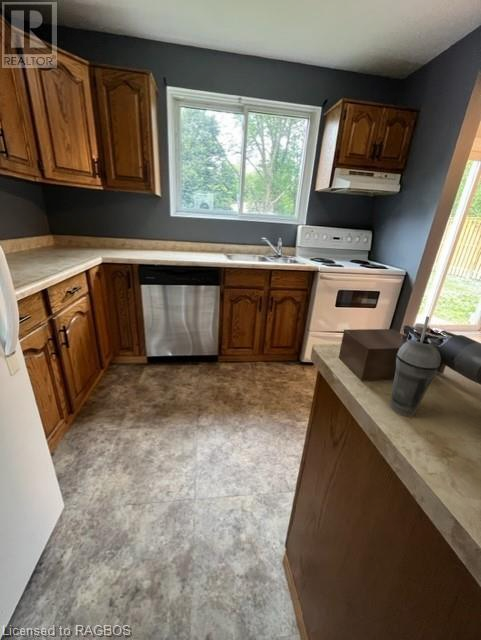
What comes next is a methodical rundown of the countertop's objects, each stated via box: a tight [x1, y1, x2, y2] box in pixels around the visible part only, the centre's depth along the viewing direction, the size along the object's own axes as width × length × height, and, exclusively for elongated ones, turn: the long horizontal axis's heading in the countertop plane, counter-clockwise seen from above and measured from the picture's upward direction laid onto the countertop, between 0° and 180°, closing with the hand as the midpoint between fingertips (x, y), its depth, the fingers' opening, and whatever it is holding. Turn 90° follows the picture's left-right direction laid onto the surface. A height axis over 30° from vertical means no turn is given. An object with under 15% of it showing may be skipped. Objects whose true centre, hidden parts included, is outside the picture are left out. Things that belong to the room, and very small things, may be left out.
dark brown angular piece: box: [401, 333, 447, 374], centre depth 72 cm, size 18×10×7 cm, turn 98°
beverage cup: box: [389, 315, 441, 418], centre depth 52 cm, size 7×7×20 cm
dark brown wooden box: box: [338, 328, 408, 382], centre depth 70 cm, size 15×12×9 cm
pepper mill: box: [411, 323, 431, 340], centre depth 71 cm, size 4×4×8 cm
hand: (412, 328), depth 72 cm, fingers closed on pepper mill, 4 cm apart
